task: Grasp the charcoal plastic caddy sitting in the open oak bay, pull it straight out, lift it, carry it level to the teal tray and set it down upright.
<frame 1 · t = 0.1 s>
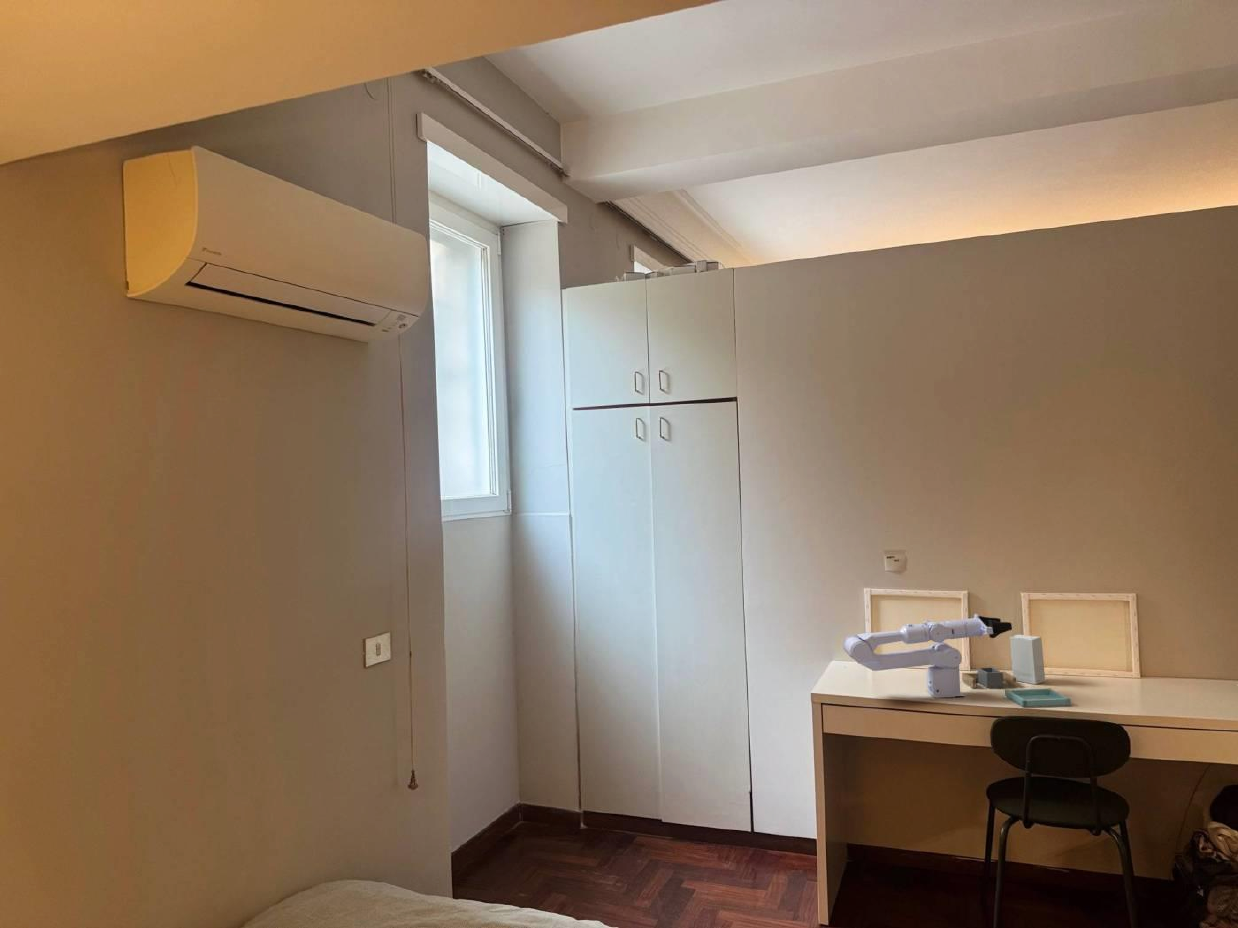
hand: (1005, 623, 263), 22 cm above the table, tool horizontal, fingers open, 7 cm apart
bay: (989, 684, 272), on the table
tray: (1037, 700, 253), on the table
skincare box: (1028, 681, 275), on the table
caddy: (990, 685, 272), on the table
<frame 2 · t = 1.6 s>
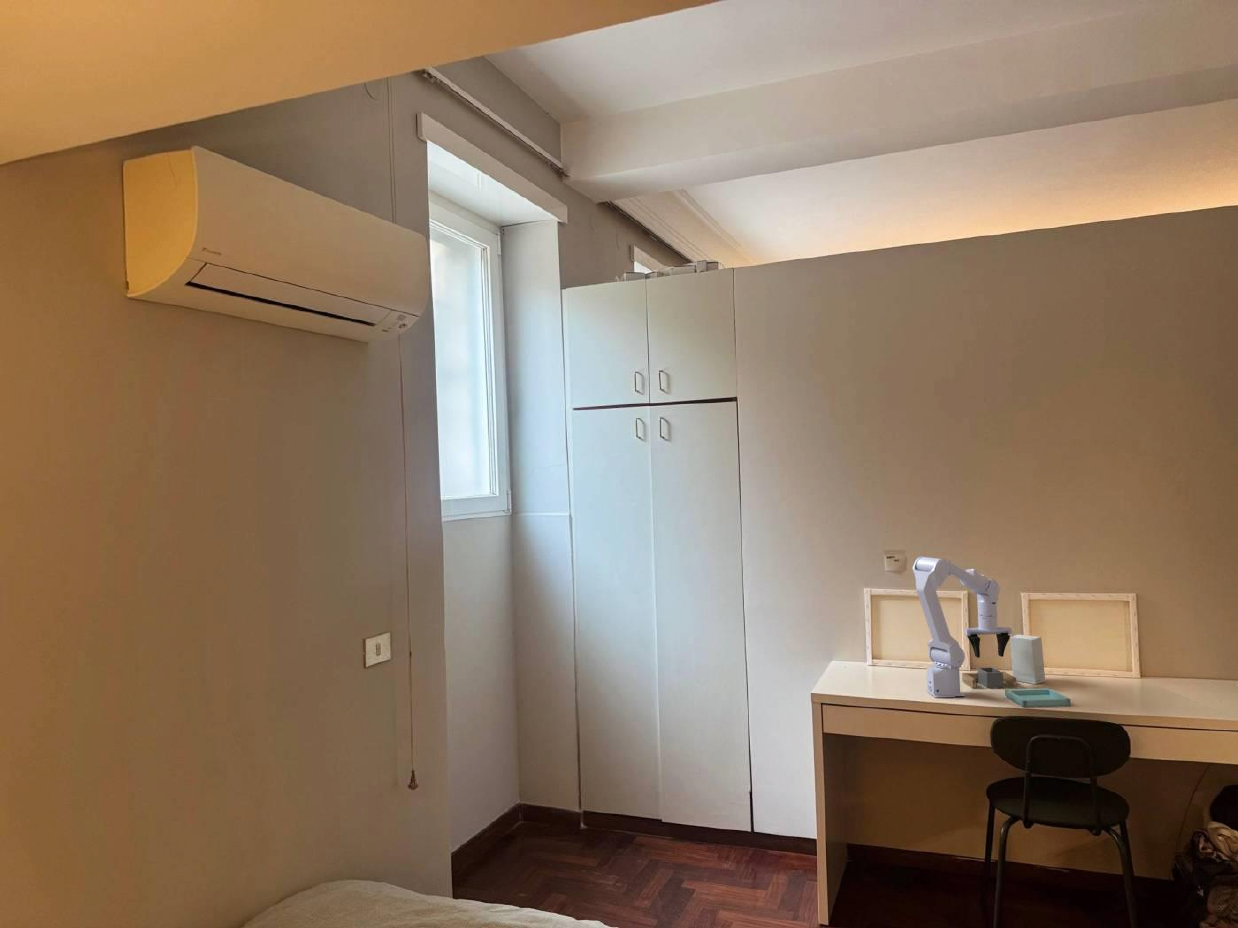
hand: (989, 656, 272), 9 cm above the table, tool pointing down, fingers open, 7 cm apart
nothing on the table moved.
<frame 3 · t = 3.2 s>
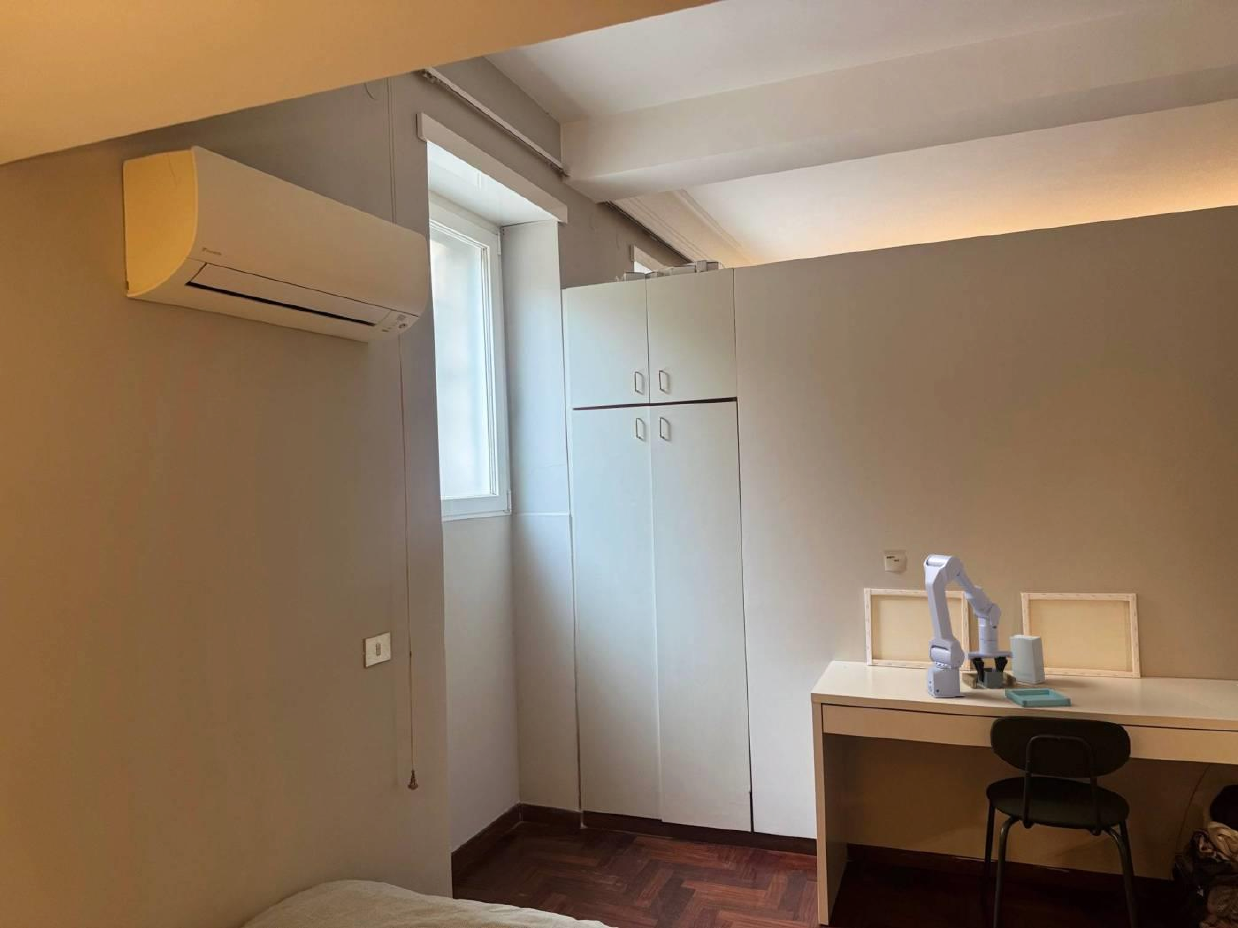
hand: (990, 680, 272), 2 cm above the table, tool pointing down, fingers closed on caddy, 5 cm apart
caddy: (990, 685, 272), on the table, touching gripper
everything else where it was.
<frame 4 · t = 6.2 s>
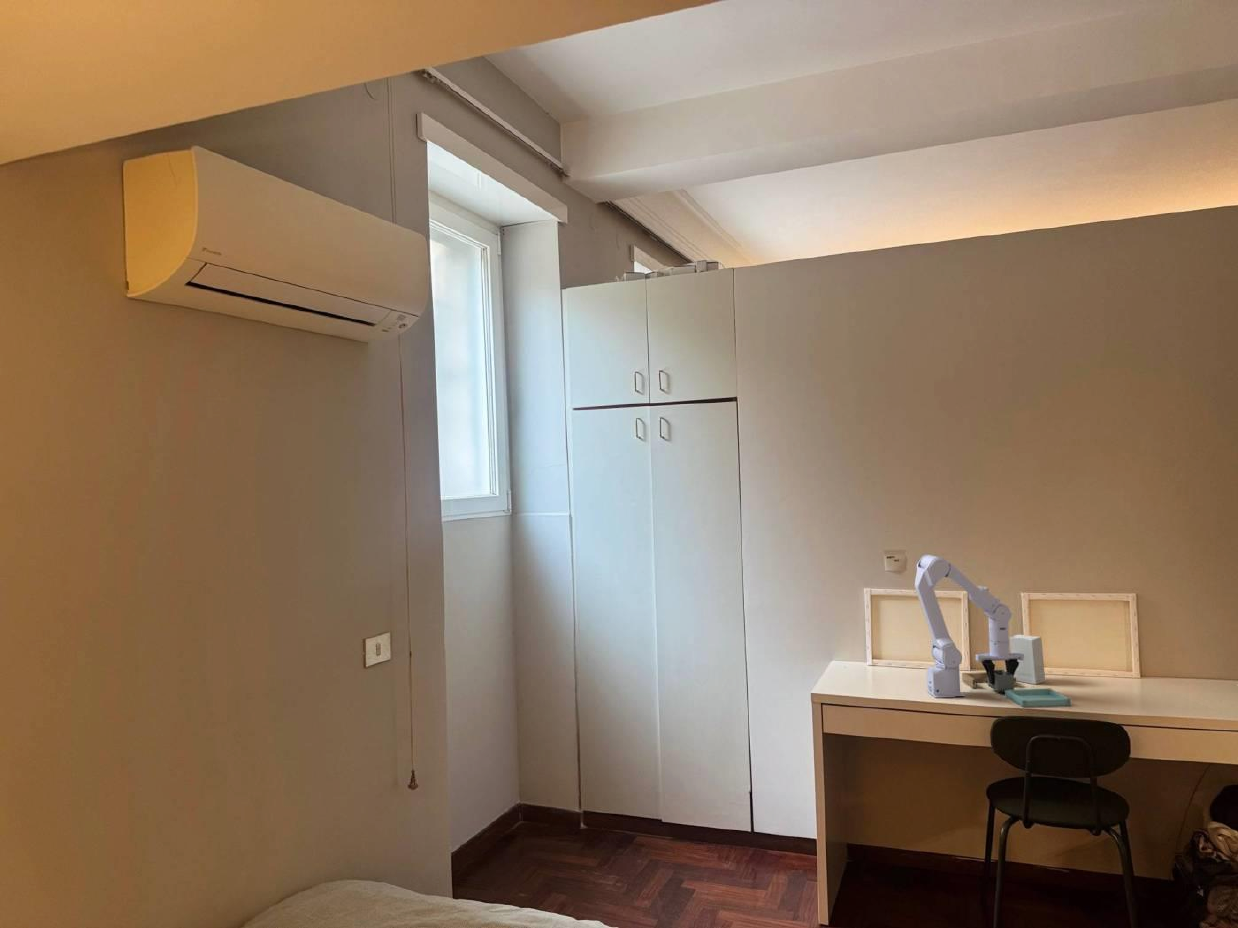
hand: (1000, 683, 264), 3 cm above the table, tool pointing down, fingers closed on caddy, 5 cm apart
caddy: (1000, 688, 264), point 1 cm above the table, touching gripper
everything else where it was.
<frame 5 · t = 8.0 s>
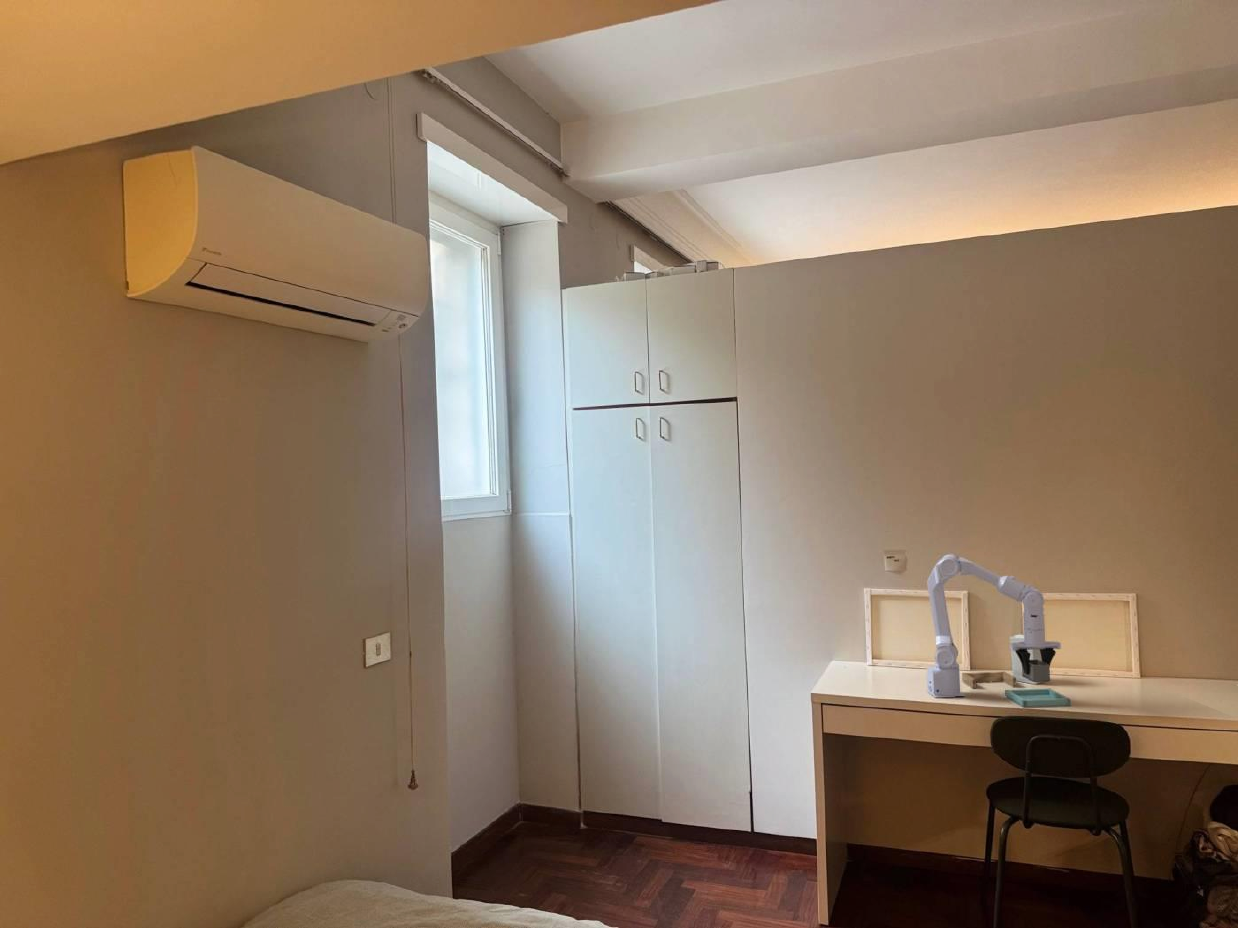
hand: (1036, 673, 253), 8 cm above the table, tool pointing down, fingers closed on caddy, 5 cm apart
caddy: (1036, 678, 253), point 7 cm above the table, touching gripper
everything else where it was.
when the fingers open (4 cm above the table, at t = 9.3 s): caddy drops 1 cm, resting on tray.
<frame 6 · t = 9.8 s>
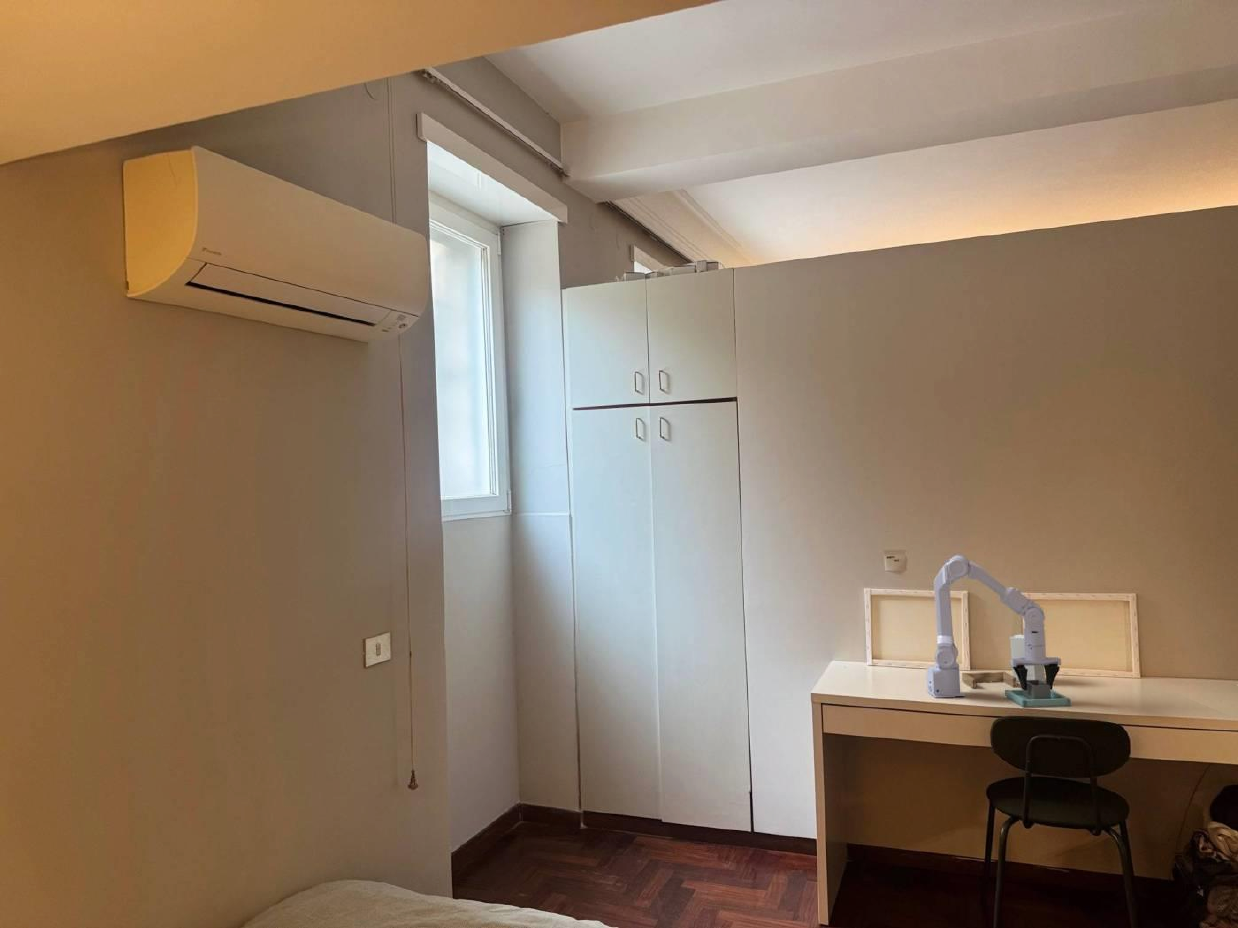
hand: (1036, 689, 253), 4 cm above the table, tool pointing down, fingers open, 7 cm apart
caddy: (1036, 699, 253), resting on tray
everything else where it was.
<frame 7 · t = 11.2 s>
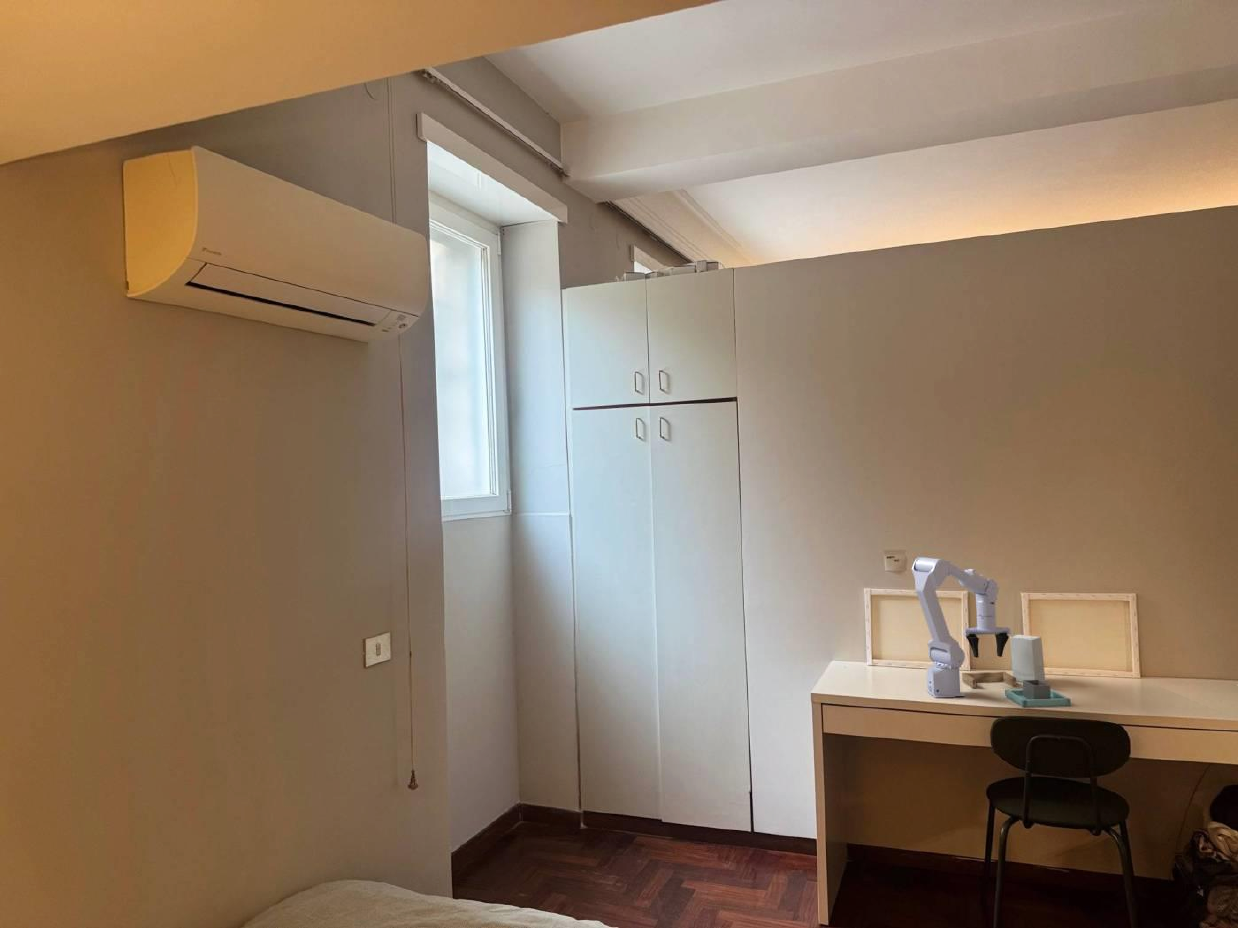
hand: (987, 656, 272), 9 cm above the table, tool pointing down, fingers open, 7 cm apart
nothing on the table moved.
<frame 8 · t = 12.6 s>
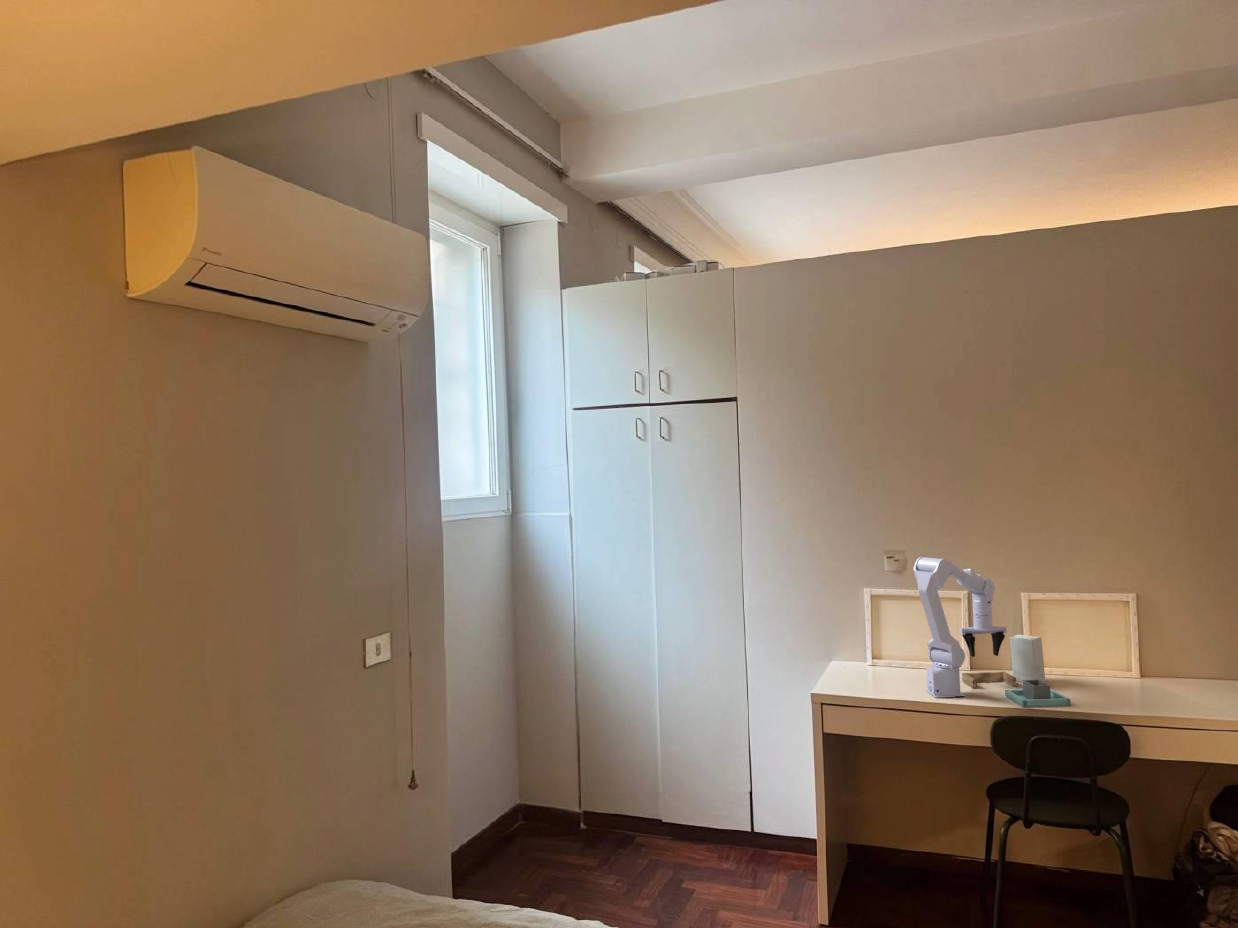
hand: (984, 655, 273), 9 cm above the table, tool pointing down, fingers open, 7 cm apart
nothing on the table moved.
at the end: caddy 0.2 cm off-centre on the tray, point 0.5 cm above the tray's base; caddy tilted 0°; the gripper is holding nothing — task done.
